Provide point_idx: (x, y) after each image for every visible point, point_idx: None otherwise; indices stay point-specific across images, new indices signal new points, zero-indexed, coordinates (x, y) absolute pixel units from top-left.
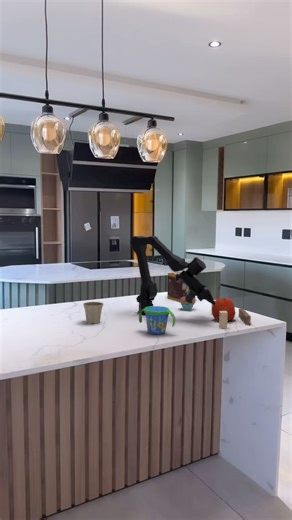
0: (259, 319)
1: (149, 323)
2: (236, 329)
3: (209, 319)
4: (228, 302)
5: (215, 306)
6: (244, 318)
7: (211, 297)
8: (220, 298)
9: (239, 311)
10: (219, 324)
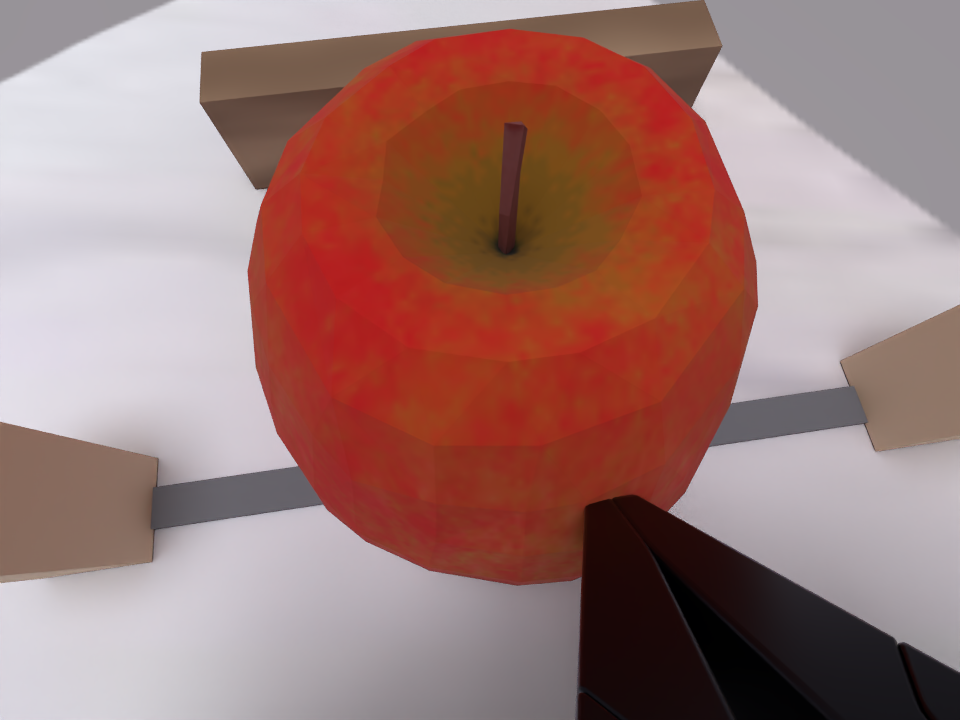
0: (379, 6)
1: None
2: (917, 245)
3: (493, 607)
4: (694, 116)
5: (672, 492)
6: None
7: (931, 709)
8: (361, 291)
9: (266, 126)
10: (933, 441)
